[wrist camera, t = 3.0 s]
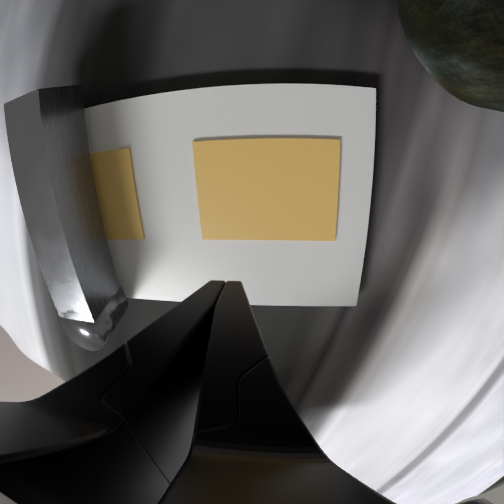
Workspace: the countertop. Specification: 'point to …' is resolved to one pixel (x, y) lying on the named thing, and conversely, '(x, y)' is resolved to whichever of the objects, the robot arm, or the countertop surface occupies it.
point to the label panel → (237, 190)
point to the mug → (459, 46)
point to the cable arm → (64, 211)
